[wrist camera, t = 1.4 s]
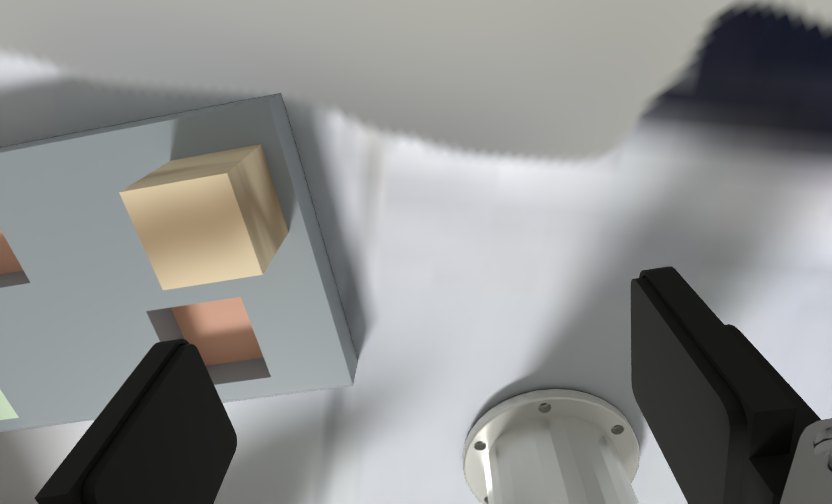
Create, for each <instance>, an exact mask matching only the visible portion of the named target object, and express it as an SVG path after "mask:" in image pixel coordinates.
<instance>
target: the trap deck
mask: <svg viewBox="0 0 832 504" xmlns="http://www.w3.org/2000/svg"><path fill="white" fill-rule="evenodd" d="M259 144H261V145H262V149H263V152H264V155H265V158H266V161H267V164H268V168H269V171H270V174H271V177H272V180H273V183H274V187H275V190H276V193H277V196H278V199H279V203H280V206H281V209H282V212H283V215H284V218H285V222H286V225H287V228H288V231H289V233H288V234H287V236H286V238H285V239H284V241H283V243H282V244H281V246H280V247H279V249H278V251H277V252H276V254H275V256H274V257H273V259H272V261H271V262H270V264H269V265H268V267H267V269H266V270H265V272H264V274H263V275H258V276H252V277H245V278H239V279H233V280H226V281H220V282H214V283H207V284H201V285H194V286H188V287H182V288H175V289H169V290H163V289H162V287H161V285H160V283H159V281H158V278H157V276H156V274H155V272H154V269H153V267H152V265H151V263H150V260H149V258H148V256H147V254H146V252H145V249H144V247H143V245H142V243H141V240H140V238H139V236H138V234H137V231H136V229H135V227H134V225H133V223H132V220H131V218H130V216H129V214H128V211H127V209H126V207H125V205H124V202H123V200H122V198H121V196H120V194H119V192H120V191H122V190H124V189H125V188H127V187H128V186H130V185H132V184H133V183H135V182H137V181H138V180H140V179H141V178H143V177H145V176H146V175H148V174H150V173H151V172H153V171H154V170H156V169H158V168H159V167H161V166H162V165H164V164H166V163H167V162H169V161H172V160H177V159H183V158H188V157H194V156H199V155H204V154H210V153H215V152H221V151H226V150H232V149H237V148H243V147H248V146H253V145H259ZM176 339H186V340H187V341H188V342H189V344H194V345H195V346H196V347H197V349H198V351H199V353H200V355H201V357H202V359H203V362H204V364H205V366H206V368H207V370H208V373H209V375H210V377H211V379H212V382H213V384H214V386H215V388H216V390H217V393H218V395H219V397H220V399H221V402H222V403H225V402H232V401H240V400H247V399H255V398H262V397H270V396H278V395H285V394H293V393H300V392H308V391H315V390H323V389H331V388H338V387H346V386H353V383H354V378H355V373H356V368H357V363H358V360H357V357H356V353H355V350H354V346H353V343H352V339H351V336H350V332H349V329H348V325H347V322H346V318H345V315H344V311H343V308H342V304H341V301H340V297H339V294H338V290H337V287H336V283H335V280H334V276H333V273H332V269H331V266H330V263H329V259H328V256H327V252H326V249H325V245H324V242H323V238H322V235H321V231H320V228H319V224H318V221H317V217H316V214H315V210H314V207H313V203H312V200H311V196H310V193H309V189H308V186H307V182H306V179H305V175H304V172H303V168H302V165H301V161H300V158H299V154H298V151H297V147H296V144H295V140H294V137H293V133H292V130H291V126H290V123H289V119H288V116H287V113H286V109H285V106H284V102H283V99H282V95H281V93H279V94H274V95H268V96H263V97H258V98H253V99H248V100H243V101H238V102H232V103H227V104H222V105H217V106H212V107H207V108H201V109H196V110H191V111H186V112H181V113H176V114H170V115H165V116H160V117H155V118H150V119H145V120H139V121H134V122H129V123H124V124H119V125H114V126H108V127H103V128H98V129H93V130H88V131H83V132H78V133H72V134H67V135H62V136H57V137H52V138H47V139H41V140H36V141H31V142H26V143H21V144H16V145H10V146H5V147H0V432H5V431H13V430H20V429H28V428H36V427H43V426H51V425H58V424H66V423H73V422H81V421H89V420H96V418H97V417H98V416H99V414H100V413H101V412H102V411H103V409H104V408H105V407H106V405H107V404H108V403H109V402H110V400H111V399H112V398H113V396H114V395H115V394H116V393H117V391H118V390H119V389H120V387H121V386H122V385H123V384H124V382H125V381H126V380H127V378H128V377H129V376H130V375H131V373H132V372H133V371H134V369H135V368H136V367H137V365H138V364H139V363H140V362H141V360H142V359H143V358H144V356H145V355H146V354H147V353H148V351H149V350H150V349H151V347H152V346H153V345H154V344H155V343H157V342H162V341H169V340H176Z"/></svg>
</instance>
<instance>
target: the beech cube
mask: <svg viewBox="0 0 832 504" xmlns="http://www.w3.org/2000/svg"><path fill="white" fill-rule="evenodd" d="M119 194H120V196H121V198H122V200H123V202H124V205H125V207H126V209H127V211H128V214H129V216H130V218H131V220H132V223H133V225H134V227H135V229H136V231H137V234H138V236H139V238H140V240H141V243H142V245H143V247H144V249H145V252H146V254H147V256H148V258H149V260H150V263H151V265H152V267H153V269H154V272H155V274H156V276H157V278H158V281H159V283H160V285H161V287H162V289H163V290H169V289H175V288H182V287H188V286H194V285H201V284H207V283H214V282H220V281H226V280H233V279H239V278H245V277H252V276H258V275H263V274H264V272H265V270H266V269H267V267H268V265H269V264H270V262H271V261H272V259H273V257H274V256H275V254H276V252H277V251H278V249H279V247H280V246H281V244H282V243H283V241H284V239H285V238H286V236H287V234H288V233H289V231H288V228H287V225H286V222H285V218H284V215H283V212H282V209H281V206H280V203H279V199H278V196H277V193H276V190H275V187H274V183H273V180H272V177H271V174H270V171H269V168H268V164H267V161H266V158H265V155H264V152H263V149H262V145H261V144H259V145H253V146H248V147H243V148H237V149H232V150H226V151H221V152H215V153H210V154H204V155H199V156H194V157H188V158H183V159H177V160H172V161H169V162H167V163H166V164H164V165H162V166H161V167H159V168H158V169H156V170H154V171H153V172H151V173H150V174H148V175H146V176H145V177H143V178H141V179H140V180H138V181H137V182H135V183H133V184H132V185H130V186H128V187H127V188H125V189H124V190H122V191H120V192H119Z"/></svg>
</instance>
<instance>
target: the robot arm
mask: <svg viewBox="0 0 832 504" xmlns="http://www.w3.org/2000/svg"><path fill="white" fill-rule="evenodd" d="M631 366H632V389H633V393H634V396H635V399H636V401H637V403H638V405H639V407H640V409H641V411H642V413H643V415H644V417H645V419H646V421H647V423H648V425H649V427H650V429H651V431H652V433H653V435H654V437H655V439H656V441H657V443H658V445H659V447H660V449H661V451H662V453H663V455H664V457H665V459H666V461H667V463H668V465H669V467H670V469H671V471H672V473H673V475H674V477H675V478H676V480H677V482H678V484H679V486H680V488H681V490H682V492H683V494H684V496H685V498H686V500H687V502H688V504H832V418H831V419H825V420H821V419H820V418H819V417H818V416H817V415H816V414H815V412H814V411H813V410H812V409H811V408H810V407H809V406H808V405H807V404H806V403H805V401H804V400H803V399H802V398H801V397H800V396H799V395H798V394H797V393H796V392H795V391H794V389H793V388H792V387H791V386H790V385H789V384H788V383H787V382H786V381H785V380H784V379H783V377H782V376H781V375H780V374H779V373H778V372H777V371H776V370H775V369H774V368H773V367H772V365H771V364H770V363H769V362H768V361H767V360H766V359H765V358H764V357H763V356H762V354H761V353H760V352H759V351H758V350H757V349H756V348H755V347H754V346H753V345H752V344H751V342H750V341H749V340H748V339H747V338H746V337H745V336H744V335H743V334H742V333H741V332H740V330H738V329H737V328H736V327H735V326H733V325H729V324H728V325H724V324H723V323H722V322H721V321H720V320H719V318H718V317H717V316H716V315H715V314H714V313H713V312H712V311H711V309H710V308H709V307H708V306H707V305H706V304H705V303H704V301H703V300H702V299H701V298H700V297H699V296H698V295H697V294H696V292H695V291H694V290H693V289H692V288H691V287H690V286H689V284H688V283H687V282H686V281H685V280H684V279H683V278H682V277H681V275H680V274H679V273H678V272H677V271H676V270H675V269H674V268H673V267H663V268H656V269H649V270H643V271H641V272H640V276H639V278H637V279H633V280H632V281H631ZM236 446H237V437H236V433H235V430H234V428H233V426H232V424H231V421H230V419H229V417H228V415H227V413H226V410H225V408H224V406H223V404H222V402H221V399H220V397H219V395H218V393H217V390H216V388H215V386H214V384H213V382H212V379H211V377H210V375H209V373H208V370H207V368H206V366H205V364H204V362H203V359H202V357H201V355H200V353H199V351H198V349H197V347H196V346H195V345H194V344H189V342H188V341H187V340H186V339H176V340H169V341H162V342H157V343H155V344H154V345H153V346H152V347H151V349H150V350H149V351H148V353H147V354H146V355H145V356H144V358H143V359H142V360H141V362H140V363H139V364H138V365H137V367H136V368H135V369H134V371H133V372H132V373H131V375H130V376H129V377H128V378H127V380H126V381H125V382H124V384H123V385H122V386H121V387H120V389H119V390H118V391H117V393H116V394H115V395H114V396H113V398H112V399H111V400H110V402H109V403H108V404H107V405H106V407H105V408H104V409H103V411H102V412H101V413H100V414H99V416H98V417H97V418H96V420H95V421H94V422H93V423H92V425H91V426H90V427H89V429H88V430H87V431H86V432H85V434H84V435H83V436H82V438H81V439H80V440H79V441H78V443H77V444H76V445H75V447H74V448H73V449H72V451H71V452H70V453H69V454H68V456H67V457H66V458H65V460H64V461H63V462H62V463H61V465H60V466H59V467H58V469H57V470H56V471H55V472H54V474H53V475H52V476H51V478H50V479H49V480H48V481H47V483H46V484H45V485H44V487H43V488H42V489H41V490H40V492H39V493H38V494H37V496H36V497H35V499H36V501H37V502H38V504H213V503H214V501H215V498H216V496H217V493H218V491H219V489H220V486H221V484H222V482H223V479H224V477H225V474H226V472H227V470H228V467H229V465H230V462H231V460H232V458H233V455H234V453H235V450H236ZM639 460H640V451H639V444H638V441H637V439H636V436H635V434H634V432H633V429H632V427H631V426H630V424H629V422H628V421H627V419H626V417H625V416H624V415H623V414H622V413H621V412H620V411H619V410H618V409H617V408H615V407H614V406H612V405H611V404H609V403H608V402H606V401H605V400H603V399H601V398H598V397H596V396H593V395H591V394H588V393H584V392H579V391H574V390H564V389H548V390H537V391H533V392H528V393H524V394H520V395H518V396H515V397H513V398H510V399H508V400H505V401H503V402H502V403H500V404H498V405H497V406H495V407H493V408H492V409H490V410H489V411H488V412H487V413H486V414H484V415H483V416H482V417H481V418H480V419H479V420H478V421H477V423H476V424H475V425H474V427H473V428H472V429H471V430H470V433H469V435H468V437H467V439H466V441H465V445H464V450H463V470H464V475H465V480H466V482H467V484H468V486H469V488H470V490H471V492H472V493H473V494H474V496H475V497H476V498H477V499H478V501H480V502H481V503H482V504H639V502H638V500H637V498H636V495H635V493H634V490H633V488H632V485H631V483H632V481H633V480H634V478H635V475H636V473H637V470H638V467H639Z"/></svg>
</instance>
